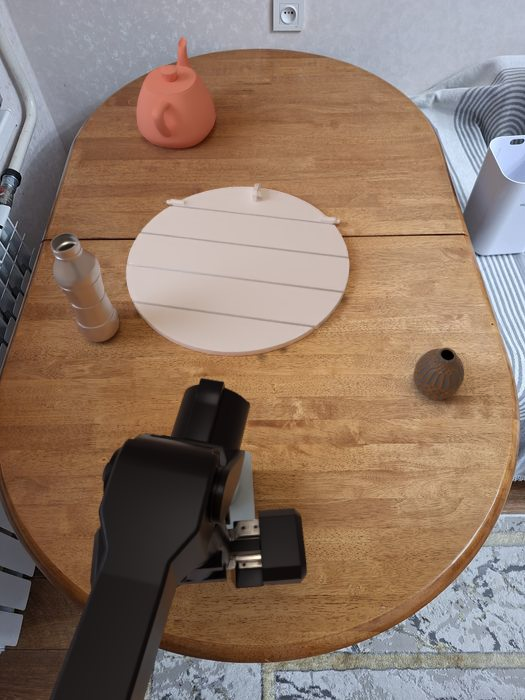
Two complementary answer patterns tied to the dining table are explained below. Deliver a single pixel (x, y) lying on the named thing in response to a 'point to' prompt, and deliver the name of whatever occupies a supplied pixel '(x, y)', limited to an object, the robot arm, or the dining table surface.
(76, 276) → the plastic bottle
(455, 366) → the vase
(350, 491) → the dining table surface
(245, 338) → the lazy susan
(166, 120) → the teapot
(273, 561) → the robot arm
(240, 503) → the cistern
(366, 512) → the dining table surface
